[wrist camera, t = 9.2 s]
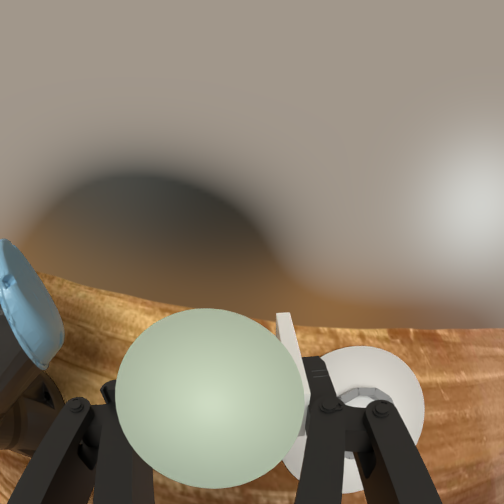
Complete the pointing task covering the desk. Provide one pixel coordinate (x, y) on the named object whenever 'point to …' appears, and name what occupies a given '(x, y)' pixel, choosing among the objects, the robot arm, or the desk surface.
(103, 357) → the desk surface
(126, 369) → the sage green cylinder
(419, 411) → the carrier plate
